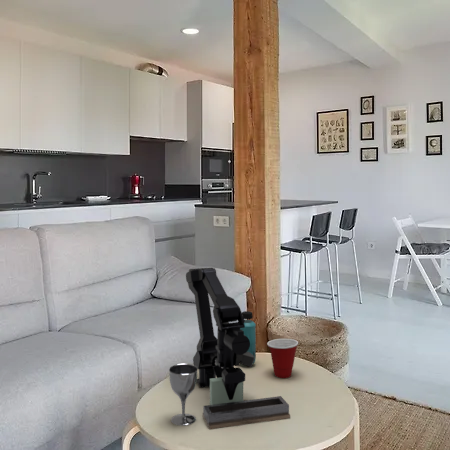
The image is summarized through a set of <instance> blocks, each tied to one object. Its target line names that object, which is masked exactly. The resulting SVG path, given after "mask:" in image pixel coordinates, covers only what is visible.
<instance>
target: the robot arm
mask: <svg viewBox="0 0 450 450" xmlns="http://www.w3.org/2000/svg"><path fill="white" fill-rule="evenodd" d="M218 277H219V276H218V275H217V270H216V268H213V267H200V268H199V267H198V268H190V269H189V270H188V271H187V272H186V274H185V280H186V283H187V286H188V289H189V291H190V292H191V293H192V294H193V295H194V301H195V309H196V316H197V323H198V330H199V340H198V342H197V344H196V352H195V354H194V355H193V358H192V360H193V361H192V365H194V366H196V367H197V370H198V378H197V382H196V384H197V385H198V386H199V388H201V389H202V388H210V379H211V378H221V377H222V382H223V384H224V387H225V390H226V393H227V396H228V398H229V400H232V399H233V397H234V394H235V391H236V388H237V385H238V384H239V383H241V382H243V383H244V382H245V381H246V373H245V372H244V371H243V370H242V368H240V364H241V365H242V366H243V365H244V366H247V367H248V368H252V366H253V364H254V363H253V362H254V359H255V357H254V356H253V355H252V354H251V353H250V352H247V351H248V349H249V347H250V341H249V339H248V337H247V336H245V335H244V331H243V330H240V328H245V325H244V322H245V320H246V319H244V318H243V315H242V312H243V311H242V310H241V307H240V306H239V304H238V302H237V301H235V299H234V298H233V297H231V296H229V295H228V294H227V291H226V290H225V288H224V287H223V285H222V283H221V281H220V278H218ZM210 300H211V301H212V304H213V308H212V309H211V303H210ZM211 310H212V311H211ZM212 313H213V317H212ZM213 318H214V321H215V326H216V327H217V337H216V336H215V332H214V331H215V330H214V325H213Z"/></svg>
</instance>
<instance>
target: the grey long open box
mask: <svg viewBox="0 0 450 450" xmlns="http://www.w3.org/2000/svg"><path fill="white" fill-rule="evenodd" d="M202 408H203V409H202V410H203V412H202V417H203V420H204V422H205V423H206V425H207V428H208V429H209V430H214V429H221V428H222V429H223V428H228V427H235V426H237V427H238V426H243V425H248V424H251V425H252V424H257V423H263V422H264V423H265V422H272V421H278V420H279V421H280V420H284V419H285V420H287V419H291V414H290V411H289V410H290V405H289V403H288V402H287V401H286V400H285V399H284V398H283V396H281V395H277V396H272V397H271V396H270V397H264V398H263V397H262V398H256V399H254V398H253V399H247V400H243V401H237V402H230V403H222V404H214V405H210V404H208V405H203V406H202Z"/></svg>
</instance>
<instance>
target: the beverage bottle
mask: <svg viewBox="0 0 450 450" xmlns="http://www.w3.org/2000/svg"><path fill="white" fill-rule="evenodd" d="M241 312H242V315H243V318H244V320H245V322H244V325H245V328H240V330H243V331H244V335H245V336H247V337H248V339H249V341H250V347H249V349H248V351H247V352H250V353H251V354H252V355H253V356H254V357H255V359H254V362H253V364H255V363H256V359H257V354H256V353H257V348H256V347H257V342H256V340H257V339H256V338H257V337H256V326H257V325H256V323H255V322H254V321H253V320H252V319H253V318H254V317H253V311H249V310H248V311H247V310H246V311H241Z"/></svg>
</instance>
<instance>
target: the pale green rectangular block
mask: <svg viewBox="0 0 450 450" xmlns="http://www.w3.org/2000/svg"><path fill="white" fill-rule="evenodd" d="M237 401H244V381H243V382H241V383H239V384H238V385H237V388H236V391H235V394H234V397H233V399H232V400H229V398H228V396H227V393H226V390H225V387H224V384H223V382H222V377H221V378H217V377H216V378H211V379H210V387H209V405H214V404H222V403H230V402H237Z"/></svg>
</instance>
